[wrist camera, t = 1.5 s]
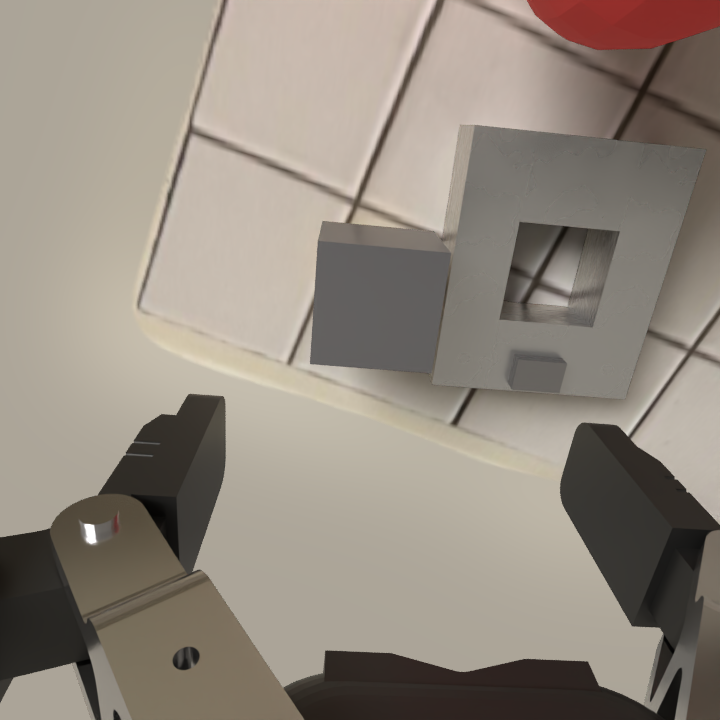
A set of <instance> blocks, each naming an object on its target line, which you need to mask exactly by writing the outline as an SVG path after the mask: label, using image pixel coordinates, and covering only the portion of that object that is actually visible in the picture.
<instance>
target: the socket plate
mask: <svg viewBox="0 0 720 720" xmlns="http://www.w3.org/2000/svg"><path fill="white" fill-rule="evenodd" d="M705 152H706V149H698V148H689V147H679V146H670V145H660V144H651V143H641V142H632V141H622V140H613V139H603V138H593V137H584V136H574V135H565V134H555V133H546V132H536V131H527V130H517V129H508V128H498V127H489V126H479V125H460V128H459V135H458V141H457V148H456V154H455V161H454V167H453V173H452V180H451V186H450V193H449V199H448V206H447V212H446V219H445V225H444V232H443V238H442V242H443V243H444V245H445V246H446V247H447V248H448V249H449V251H450V252H451V258H450V264H449V270H448V276H447V282H446V288H445V295H444V301H443V307H442V313H441V319H440V325H439V331H438V337H437V344H436V350H435V356H434V362H433V368H432V373H428V374H429V377H430V380H431V383H432V385H442V386H455V387H469V388H482V389H495V390H508V391H521V392H534V393H547V394H560V395H573V396H586V397H599V398H613V399H625V397H626V394H627V391H628V388H629V385H630V382H631V379H632V376H633V373H634V370H635V367H636V364H637V360H638V357H639V354H640V351H641V348H642V345H643V342H644V339H645V336H646V333H647V330H648V327H649V324H650V321H651V318H652V315H653V311H654V308H655V305H656V302H657V299H658V296H659V293H660V290H661V287H662V284H663V281H664V278H665V275H666V272H667V269H668V266H669V262H670V259H671V256H672V253H673V250H674V247H675V244H676V241H677V238H678V235H679V232H680V229H681V226H682V223H683V220H684V217H685V213H686V210H687V207H688V204H689V201H690V198H691V195H692V192H693V189H694V186H695V183H696V180H697V177H698V174H699V171H700V168H701V164H702V161H703V158H704V155H705ZM520 222H527V223H537V224H548V225H558V226H569V227H579V228H588V232H587V235H586V239H585V243H584V247H583V251H582V255H581V259H580V262H579V266H578V270H577V274H576V278H575V282H574V286H573V289H572V293H571V297H570V301H569V305H568V307H563V306H552V305H540V304H528V303H517V302H505V301H503V300H504V295H505V290H506V285H507V280H508V276H509V271H510V266H511V261H512V257H513V252H514V247H515V242H516V237H517V233H518V228H519V223H520Z"/></svg>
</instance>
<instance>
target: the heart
mask: <svg viewBox="0 0 720 720" xmlns="http://www.w3.org/2000/svg"><path fill="white" fill-rule="evenodd" d="M527 2H528V3H529V5H530V7H531V8H532V10H533V12H534V13H535V15H536V16H537V17H538V18H539V19H541V20H542V21H543V22H544V23H545V24H547V25H548V26H549V27H550V28H551V29H553V30H554V31H555V32H556V33H557V34H559V35H560V36H562V37H564V38H565V39H567V40H569V41H572V42H575V43H578V44H581V45H584V46H587V47H590V48H593V49H597V50H612V49H651V48H654V47H658V46H661V45H664V44H667V43H670V42H674V41H677V40H680V39H683V38H686V37H689V36H692V35H695V34H698V33H701V32H704V31H707V30H710V29H713V28H716V27H718V26H720V0H527Z"/></svg>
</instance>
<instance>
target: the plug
mask: <svg viewBox="0 0 720 720" xmlns="http://www.w3.org/2000/svg"><path fill="white" fill-rule="evenodd" d="M450 258H451V252H450V251H449V249H448V248H447V247H446V246H445V245H444V243H443V242H442V241H441V240H440V238H439V237H438V236H437V235H436V233H435V232H434V231H424V230H413V229H402V228H391V227H381V226H370V225H359V224H348V223H338V222H327V221H323V222H322V226H321V230H320V235H319V239H318V248H317V263H316V279H315V295H314V310H313V326H312V342H311V357H310V364H317V365H330V366H343V367H356V368H369V369H382V370H394V371H407V372H420V373H432V368H433V362H434V356H435V350H436V344H437V337H438V331H439V325H440V319H441V313H442V307H443V301H444V295H445V288H446V282H447V276H448V270H449V264H450Z"/></svg>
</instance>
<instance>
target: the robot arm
mask: <svg viewBox="0 0 720 720" xmlns="http://www.w3.org/2000/svg"><path fill="white" fill-rule="evenodd" d="M225 445H226V444H225V399H224V397H223V396H212V395H197V394H189V395H188V396H187V397H186V399H185V401H184V403H183V404H182V406H181V408H180V410H179V411H178V413H177V415H165V414H161V415H160V416H158V417H157V418H155V419H154V420H152V421H151V422H149V423H148V424H146V425H144V426H143V428H142V429H141V431H140V432H139V434H138V435H137V437H136V438H135V440H134V443H132V444H131V446H130V447H129V449H128V450H127V452H126V456H123V458H122V459H121V461H120V462H119V464H118V465H117V467H116V468H115V470H114V471H113V473H112V475H111V476H110V477H109V479H108V480H107V482H106V483H105V485H104V486H103V488H102V489H101V491H100V492H99V494H98V495H97V496H92V497H89V498H86V499H83V500H80V501H78V502H76V503H74V504H72V505H70V506H69V507H67V508H66V509H65V510H63V511H62V512H61V513H60V514H59V515H58V516H57V517H56V518H55V520H54V521H53V523H52V526H51V528H50V529H47V530H42V531H37V532H32V533H25V534H19V535H13V536H7V537H0V702H1V700H2V698H3V696H4V694H5V692H6V690H7V689H8V687H9V685H10V683H11V681H12V679H13V677H17V676H21V675H26V674H30V673H34V672H38V671H42V670H45V669H50V668H54V667H58V666H62V665H66V664H70V663H72V665H73V668H74V670H75V673H76V676H77V679H78V682H79V685H80V688H81V691H82V694H83V697H84V700H85V703H86V706H87V709H88V712H89V715H90V718H91V720H720V525H719V524H718V523H717V522H716V520H715V519H714V518H713V517H712V516H711V515H710V514H709V513H708V512H707V511H706V510H705V509H704V508H703V507H702V506H701V504H700V503H699V502H698V501H697V500H696V499H695V498H694V497H693V496H692V495H691V494H690V493H687V492H686V488H685V487H684V486H683V485H682V484H681V483H680V482H679V481H678V480H675V479H674V476H673V475H672V474H671V472H670V471H669V470H668V469H667V468H666V467H665V466H664V465H663V464H662V463H661V462H660V461H659V460H657V459H655V458H654V457H652V456H651V455H649V454H648V453H646V452H645V451H643V450H642V449H640V448H638V447H637V446H636V445H635V444H634V443H633V442H632V441H631V440H630V438H629V437H628V436H627V435H626V434H625V433H624V432H623V431H622V430H621V429H620V428H619V427H618V426H617V425H609V424H595V423H581V424H580V425H579V426H578V427H577V429H576V431H575V434H574V437H573V441H572V444H571V448H570V451H569V454H568V458H567V461H566V465H565V468H564V471H563V475H562V478H561V484H560V485H561V486H560V494H561V500H562V504H563V506H564V508H565V510H566V512H567V514H568V515H569V517H570V519H571V521H572V522H573V524H574V526H575V527H576V529H577V531H578V533H579V534H580V536H581V538H582V540H583V541H584V543H585V545H586V547H587V548H588V550H589V552H590V554H591V555H592V557H593V559H594V560H595V562H596V564H597V566H598V567H599V569H600V571H601V573H602V574H603V576H604V578H605V580H606V581H607V583H608V585H609V587H610V588H611V590H612V592H613V593H614V595H615V597H616V599H617V601H618V602H619V604H620V606H621V608H622V609H623V611H624V613H625V614H626V616H627V618H628V620H629V621H630V623H631V625H632V626H638V627H659V628H660V629H661V630H662V632H663V635H662V638H661V640H660V642H659V644H658V647H657V650H656V655H655V659H654V663H653V668H652V672H651V676H650V681H649V684H648V689H647V693H646V697H645V702H644V706H643V705H642V704H640V703H638V702H636V701H634V700H632V699H630V698H628V697H626V696H624V695H622V694H620V693H617V692H615V691H612V690H609V689H607V688H604V687H600V686H599V685H598V683H597V681H596V679H595V676H594V674H593V672H592V670H591V668H590V665H589V663H588V662H584V661H561V660H536V659H523V660H518V661H514V662H509V663H505V664H500V665H496V666H492V667H487V668H483V669H479V670H474V671H470V672H457V671H453V670H449V669H446V668H442V667H439V666H435V665H432V664H428V663H424V662H420V661H417V660H414V659H410V658H406V657H403V656H399V655H396V654H392V653H370V652H347V651H325V661H324V670H323V674H318V675H314V676H310V677H307V678H304V679H301V680H298V681H296V682H293V683H291V684H289V685H288V686H286V687H284V688H283V687H282V686H281V684H280V683H279V681H278V680H277V678H276V677H275V675H274V674H273V672H272V671H271V669H270V668H269V666H268V665H267V663H266V662H265V660H264V659H263V657H262V656H261V654H260V653H259V651H258V650H257V648H256V647H255V645H254V644H253V643H252V641H251V639H250V638H249V636H248V635H247V634H246V632H245V630H244V629H243V627H242V626H241V624H240V623H239V621H238V620H237V618H236V617H235V616H234V614H233V612H232V611H231V610H230V608H229V607H228V605H227V604H226V602H225V601H224V599H223V598H222V596H221V595H220V593H219V592H218V590H217V589H216V587H215V586H214V584H213V583H212V581H211V580H210V579H209V577H208V576H207V575H206V574H205V573H204V572H203V571H202V570H197V571H194V572H192V571H193V568H194V565H195V562H196V559H197V556H198V553H199V550H200V547H201V544H202V541H203V539H204V536H205V533H206V530H207V527H208V524H209V521H210V518H211V515H212V512H213V509H214V506H215V503H216V500H217V497H218V494H219V491H220V488H221V485H222V481H223V477H224V470H225V458H226V457H225V452H226V450H225V449H226V448H225Z"/></svg>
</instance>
